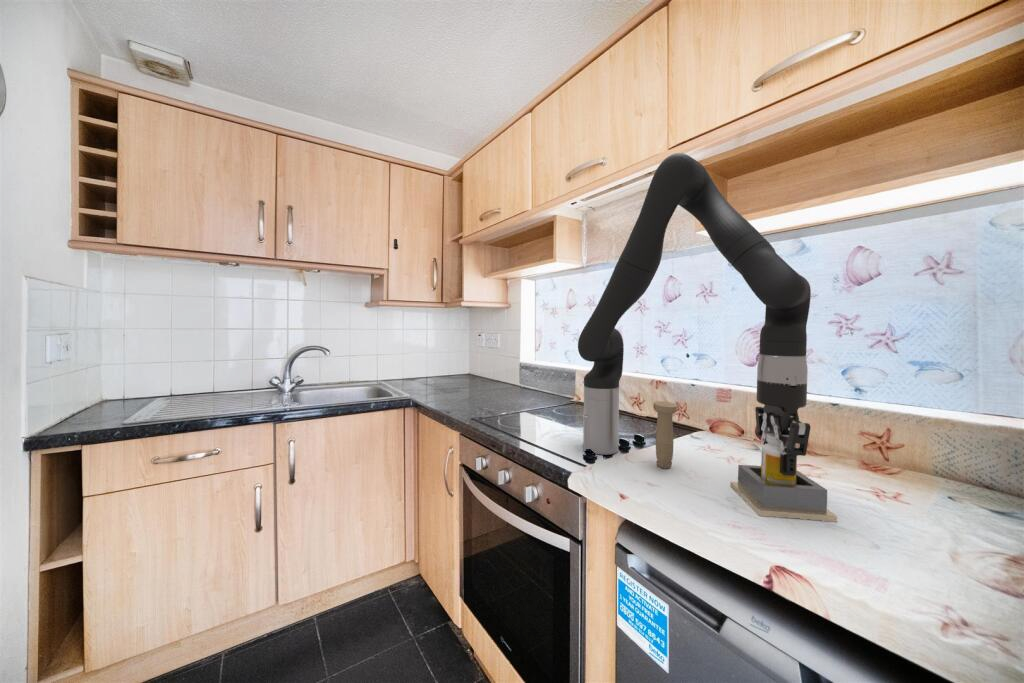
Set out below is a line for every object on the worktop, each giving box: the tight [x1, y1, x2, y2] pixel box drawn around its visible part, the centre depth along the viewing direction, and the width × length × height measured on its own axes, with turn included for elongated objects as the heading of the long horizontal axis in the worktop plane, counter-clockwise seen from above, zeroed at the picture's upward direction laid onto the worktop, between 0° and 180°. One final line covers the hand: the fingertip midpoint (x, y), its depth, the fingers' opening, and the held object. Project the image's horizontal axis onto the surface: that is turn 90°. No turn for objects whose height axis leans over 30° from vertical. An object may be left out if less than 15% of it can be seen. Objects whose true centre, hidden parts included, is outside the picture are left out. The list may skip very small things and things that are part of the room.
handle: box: [652, 400, 678, 469], centre depth 86 cm, size 5×6×15 cm
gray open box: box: [730, 464, 838, 523], centre depth 68 cm, size 12×12×5 cm
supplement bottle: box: [760, 433, 798, 485], centre depth 68 cm, size 5×5×10 cm
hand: (778, 468), depth 68 cm, fingers closed on supplement bottle, 5 cm apart
